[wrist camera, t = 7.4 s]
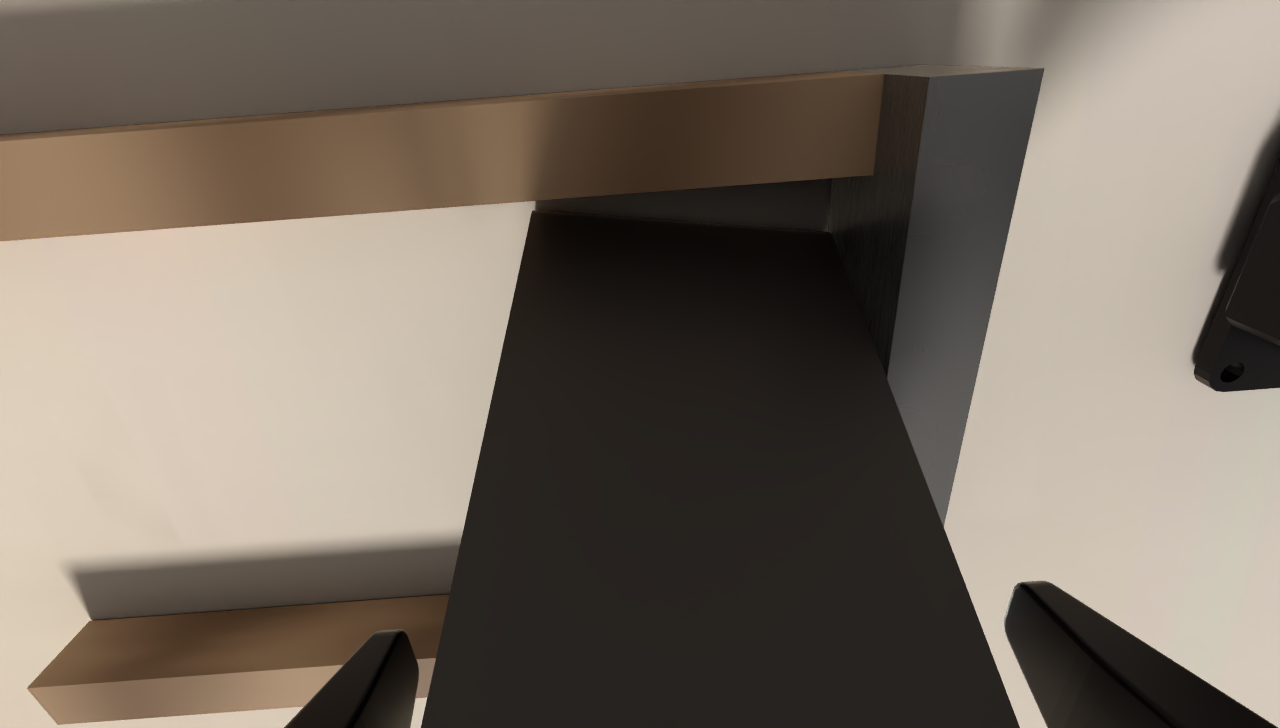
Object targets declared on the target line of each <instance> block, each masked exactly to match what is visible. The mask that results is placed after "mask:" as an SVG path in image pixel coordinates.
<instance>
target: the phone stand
mask: <svg viewBox="0 0 1280 728" xmlns="http://www.w3.org/2000/svg"><path fill="white" fill-rule="evenodd" d="M421 728H1020V727H1019V724H1018V722H1017V719H1016V716H1015V714H1014V711H1013V708H1012V706H1011V703H1010V701H1009V698H1008V695H1007V693H1006V690H1005V687H1004V685H1003V682H1002V680H1001V677H1000V674H999V672H998V669H997V666H996V664H995V661H994V659H993V656H992V653H991V651H990V648H989V645H988V643H987V640H986V637H985V635H984V632H983V630H982V627H981V624H980V622H979V619H978V616H977V614H976V611H975V609H974V606H973V603H972V601H971V598H970V595H969V593H968V590H967V588H966V585H965V582H964V580H963V577H962V574H961V572H960V569H959V567H958V564H957V561H956V559H955V556H954V553H953V551H952V548H951V546H950V543H949V540H948V538H947V535H946V532H945V530H944V527H943V525H942V522H941V519H940V517H939V514H938V511H937V509H936V506H935V504H934V501H933V498H932V496H931V493H930V490H929V488H928V485H927V482H926V480H925V477H924V475H923V472H922V469H921V467H920V464H919V461H918V459H917V456H916V454H915V451H914V448H913V446H912V443H911V440H910V438H909V435H908V433H907V430H906V427H905V425H904V422H903V419H902V417H901V414H900V412H899V409H898V406H897V404H896V401H895V398H894V396H893V393H892V391H891V388H890V385H889V383H888V380H887V377H886V375H885V372H884V370H883V367H882V364H881V362H880V359H879V356H878V354H877V351H876V349H875V346H874V343H873V341H872V338H871V335H870V333H869V330H868V327H867V325H866V322H865V320H864V317H863V314H862V312H861V309H860V306H859V304H858V301H857V299H856V296H855V293H854V291H853V288H852V285H851V283H850V280H849V278H848V275H847V272H846V270H845V267H844V264H843V262H842V259H841V257H840V254H839V251H838V249H837V246H836V243H835V241H834V238H833V236H832V234H831V233H830V232H816V231H803V230H789V229H776V228H763V227H749V226H736V225H722V224H709V223H695V222H682V221H668V220H655V219H642V218H628V217H615V216H601V215H588V214H574V213H561V212H547V211H534V210H533V211H532V214H531V218H530V223H529V228H528V232H527V237H526V242H525V246H524V251H523V256H522V260H521V265H520V270H519V274H518V279H517V284H516V288H515V293H514V297H513V302H512V307H511V311H510V316H509V321H508V325H507V330H506V335H505V339H504V344H503V349H502V353H501V358H500V363H499V367H498V372H497V377H496V381H495V386H494V390H493V395H492V400H491V404H490V409H489V414H488V418H487V423H486V428H485V432H484V437H483V442H482V446H481V451H480V456H479V460H478V465H477V470H476V474H475V479H474V483H473V488H472V493H471V497H470V502H469V507H468V511H467V516H466V521H465V525H464V530H463V535H462V539H461V544H460V549H459V553H458V558H457V563H456V567H455V572H454V576H453V581H452V586H451V590H450V595H449V600H448V604H447V609H446V614H445V618H444V623H443V628H442V632H441V637H440V642H439V646H438V651H437V656H436V660H435V665H434V669H433V674H432V679H431V683H430V688H429V693H428V697H427V702H426V707H425V711H424V716H423V721H422V725H421Z"/></svg>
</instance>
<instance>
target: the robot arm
mask: <svg viewBox="0 0 1280 728" xmlns="http://www.w3.org/2000/svg"><path fill="white" fill-rule="evenodd" d="M1194 375H1195V378H1196V379H1197V380H1198V381H1200V382H1201V383H1203V384H1205V385H1206V386H1208V387H1210V388H1212V389H1213V390H1215V391H1221V392H1228V391H1242V390H1255V389H1268V388H1280V160H1279V162H1278V165H1277V167H1276V170H1275V172H1274V174H1273V177H1272V179H1271V182H1270V184H1269V187H1268V189H1267V192H1266V194H1265V196H1264V199H1263V201H1262V204H1261V206H1260V209H1259V211H1258V214H1257V216H1256V218H1255V221H1254V223H1253V226H1252V228H1251V231H1250V233H1249V236H1248V238H1247V240H1246V243H1245V245H1244V248H1243V250H1242V253H1241V255H1240V258H1239V260H1238V262H1237V265H1236V267H1235V270H1234V272H1233V275H1232V277H1231V280H1230V282H1229V284H1228V287H1227V289H1226V292H1225V294H1224V297H1223V299H1222V302H1221V304H1220V306H1219V309H1218V311H1217V314H1216V316H1215V319H1214V321H1213V324H1212V326H1211V328H1210V331H1209V333H1208V336H1207V338H1206V341H1205V343H1204V346H1203V348H1202V350H1201V353H1200V355H1199V358H1198V360H1197V363H1196V365H1195V369H1194ZM1004 628H1005V633H1006V636H1007V639H1008V641H1009V643H1010V645H1011V648H1012V650H1013V652H1014V654H1015V657H1016V659H1017V661H1018V663H1019V665H1020V668H1021V670H1022V672H1023V674H1024V676H1025V679H1026V681H1027V683H1028V685H1029V687H1030V690H1031V692H1032V694H1033V696H1034V699H1035V701H1036V703H1037V705H1038V707H1039V710H1040V712H1041V714H1042V716H1043V718H1044V721H1045V723H1046V725H1047V727H1048V728H1278V727H1276V726H1275V725H1273V724H1272V723H1270V722H1268V721H1267V720H1265V719H1264V718H1262V717H1261V716H1259V715H1257V714H1256V713H1254V712H1253V711H1251V710H1250V709H1248V708H1247V707H1245V706H1243V705H1242V704H1240V703H1239V702H1237V701H1236V700H1234V699H1232V698H1231V697H1229V696H1228V695H1226V694H1225V693H1223V692H1221V691H1220V690H1218V689H1217V688H1215V687H1214V686H1212V685H1210V684H1209V683H1207V682H1206V681H1204V680H1203V679H1201V678H1199V677H1198V676H1196V675H1195V674H1193V673H1192V672H1190V671H1189V670H1187V669H1185V668H1184V667H1182V666H1181V665H1179V664H1178V663H1176V662H1174V661H1173V660H1171V659H1170V658H1168V657H1167V656H1165V655H1163V654H1162V653H1160V652H1159V651H1157V650H1156V649H1154V648H1152V647H1151V646H1149V645H1148V644H1146V643H1145V642H1143V641H1141V640H1140V639H1138V638H1137V637H1135V636H1134V635H1132V634H1130V633H1129V632H1127V631H1126V630H1124V629H1123V628H1121V627H1120V626H1118V625H1116V624H1115V623H1113V622H1112V621H1110V620H1109V619H1107V618H1105V617H1104V616H1102V615H1101V614H1099V613H1098V612H1096V611H1094V610H1093V609H1091V608H1090V607H1088V606H1087V605H1085V604H1083V603H1082V602H1080V601H1079V600H1077V599H1076V598H1074V597H1072V596H1071V595H1069V594H1068V593H1066V592H1065V591H1063V590H1062V589H1060V588H1058V587H1057V586H1055V585H1053V584H1052V583H1049V582H1046V581H1032V582H1021V583H1018V584H1017V585H1016V586H1015V587H1014V589H1013V593H1012V596H1011V599H1010V602H1009V605H1008V609H1007V612H1006V615H1005V619H1004ZM418 681H419V667H418V662H417V660H416V657H415V654H414V651H413V649H412V646H411V643H410V641H409V638H408V635H407V633H406V632H405V631H404V630H402V629H395V630H382V631H377V632H375V633H374V634H372V635H371V636H370V637H369V638H368V639H367V640H366V641H365V642H364V643H363V644H362V646H361V647H360V648H359V649H358V650H357V651H356V652H355V653H354V654H353V655H352V656H351V657H350V658H349V659H348V660H347V661H346V663H345V664H344V665H343V666H342V667H341V668H340V669H339V670H338V671H337V672H336V673H335V674H334V675H333V676H332V677H331V679H330V680H329V681H328V682H327V683H326V684H325V685H324V686H323V687H322V688H321V689H320V690H319V691H318V692H317V693H316V694H315V696H314V697H313V698H312V699H311V700H310V701H309V702H308V703H307V704H306V705H305V706H304V707H303V708H302V709H301V710H300V711H299V713H298V714H297V715H296V716H295V717H294V718H293V719H292V720H291V721H290V722H289V723H288V724H287V725H286V726H285V727H284V728H410V726H411V720H412V715H413V709H414V704H415V698H416V693H417V687H418Z"/></svg>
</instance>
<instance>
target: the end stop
mask: <svg viewBox="0 0 1280 728" xmlns="http://www.w3.org/2000/svg"><path fill="white" fill-rule="evenodd" d="M847 71H849V72H863V73H877V74H884V82H883V91H882V100H881V109H880V118H879V127H878V136H877V146H876V155H875V164H874V173H873V175H867V176H854V177H840V178H832V191H831V204H830V216H829V229H828V232H830V233H831V234H832V236H833V238H834V241H835V243H836V246H837V249H838V251H839V254H840V257H841V259H842V262H843V264H844V267H845V270H846V272H847V275H848V278H849V280H850V283H851V285H852V288H853V291H854V293H855V296H856V299H857V301H858V304H859V306H860V309H861V312H862V314H863V317H864V320H865V322H866V325H867V327H868V330H869V333H870V335H871V338H872V341H873V343H874V346H875V349H876V351H877V354H878V356H879V359H880V362H881V364H882V367H883V370H884V372H885V375H886V377H887V380H888V383H889V385H890V388H891V391H892V393H893V396H894V398H895V401H896V404H897V406H898V409H899V412H900V414H901V417H902V419H903V422H904V425H905V427H906V430H907V433H908V435H909V438H910V440H911V443H912V446H913V448H914V451H915V454H916V456H917V459H918V461H919V464H920V467H921V469H922V472H923V475H924V477H925V480H926V482H927V485H928V488H929V490H930V493H931V496H932V498H933V501H934V504H935V506H936V509H937V511H938V514H939V517H940V519H941V522H942V525H943V527H944V522H945V518H946V513H947V509H948V504H949V500H950V495H951V491H952V486H953V482H954V477H955V472H956V468H957V463H958V459H959V454H960V450H961V445H962V441H963V436H964V432H965V427H966V422H967V418H968V413H969V409H970V404H971V400H972V395H973V391H974V386H975V382H976V377H977V372H978V368H979V363H980V359H981V354H982V350H983V345H984V341H985V336H986V332H987V327H988V322H989V318H990V313H991V309H992V304H993V300H994V295H995V291H996V286H997V281H998V277H999V272H1000V268H1001V263H1002V259H1003V254H1004V250H1005V245H1006V241H1007V236H1008V231H1009V227H1010V222H1011V218H1012V213H1013V209H1014V204H1015V200H1016V195H1017V191H1018V186H1019V181H1020V177H1021V172H1022V168H1023V163H1024V159H1025V154H1026V150H1027V145H1028V141H1029V136H1030V131H1031V127H1032V122H1033V118H1034V113H1035V109H1036V104H1037V100H1038V95H1039V91H1040V86H1041V81H1042V77H1043V72H1044V68H1015V67H981V66H948V65H913V66H900V67H886V68H873V69H860V70H847Z"/></svg>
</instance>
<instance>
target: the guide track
mask: <svg viewBox="0 0 1280 728" xmlns="http://www.w3.org/2000/svg"><path fill="white" fill-rule="evenodd" d="M883 82H884V74H877V73H863V72H849V71H834V72H821V73H808V74H795V75H782V76H768V77H755V78H742V79H729V80H716V81H703V82H690V83H677V84H664V85H650V86H637V87H624V88H611V89H598V90H585V91H572V92H559V93H546V94H532V95H519V96H506V97H493V98H480V99H467V100H454V101H441V102H428V103H414V104H401V105H388V106H375V107H362V108H349V109H336V110H323V111H310V112H296V113H283V114H270V115H257V116H244V117H231V118H218V119H205V120H192V121H178V122H165V123H152V124H139V125H126V126H113V127H100V128H87V129H73V130H60V131H47V132H34V133H21V134H8V135H0V241H10V240H23V239H36V238H49V237H63V236H76V235H89V234H102V233H115V232H129V231H142V230H155V229H168V228H181V227H194V226H208V225H221V224H234V223H247V222H260V221H274V220H287V219H300V218H313V217H326V216H339V215H353V214H366V213H379V212H392V211H405V210H419V209H432V208H445V207H458V206H471V205H484V204H498V203H511V202H524V201H537V200H550V199H564V198H577V197H590V196H603V195H616V194H629V193H643V192H656V191H669V190H682V189H695V188H709V187H722V186H735V185H748V184H761V183H774V182H788V181H801V180H814V179H827V178H840V177H854V176H867V175H873V173H874V164H875V155H876V146H877V136H878V127H879V118H880V109H881V100H882V91H883ZM449 595H450V594H447V595H433V596H420V597H406V598H393V599H380V600H366V601H353V602H339V603H326V604H312V605H299V606H286V607H272V608H259V609H245V610H232V611H218V612H205V613H191V614H178V615H165V616H151V617H138V618H124V619H111V620H97V621H89V622H88V623H87V624H86V625H85V627H84V628H83V629H82V630H81V631H80V632H79V633H78V634H77V635H76V636H75V637H74V638H73V639H72V640H71V642H70V643H69V644H68V645H67V646H66V647H65V648H64V649H63V650H62V651H61V652H60V653H59V654H58V655H57V657H56V658H55V659H54V660H53V661H52V662H51V663H50V664H49V665H48V666H47V667H46V668H45V669H44V670H43V672H42V673H41V674H40V675H39V676H38V677H37V678H36V679H35V680H34V681H33V682H32V683H31V684H30V685H29V686H28V688H27V689H28V690H29V692H30V693H31V694H32V695H33V696H34V697H35V699H36V700H37V701H38V702H39V703H40V704H41V706H42V707H43V708H44V709H45V710H46V711H47V713H48V714H49V715H50V716H51V717H52V718H53V720H54V721H55V722H56V723H57V724H58V725H60V724H73V723H87V722H100V721H114V720H127V719H141V718H154V717H168V716H181V715H195V714H208V713H222V712H235V711H249V710H262V709H276V708H289V707H303V706H305V705H306V704H307V703H308V702H309V701H310V700H311V699H312V698H313V697H314V696H315V694H316V693H317V692H318V691H319V690H320V689H321V688H322V687H323V686H324V685H325V684H326V683H327V682H328V681H329V680H330V679H331V677H332V676H333V675H334V674H335V673H336V672H337V671H338V670H339V669H340V668H341V667H342V666H343V665H344V664H345V663H346V661H347V660H348V659H349V658H350V657H351V656H352V655H353V654H354V653H355V652H356V651H357V650H358V649H359V648H360V647H361V646H362V644H363V643H364V642H365V641H366V640H367V639H368V638H369V637H370V636H371V635H372V634H374V633H375V632H377V631H382V630H395V629H402V630H404V631H405V632H406V633H407V635H408V638H409V641H410V643H411V646H412V649H413V651H414V654H415V657H416V660H417V662H418V667H419V681H418V687H417V693H416V698H425V697H428V693H429V688H430V683H431V679H432V674H433V669H434V665H435V660H436V656H437V651H438V646H439V642H440V637H441V632H442V628H443V623H444V618H445V614H446V609H447V604H448V600H449Z"/></svg>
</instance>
